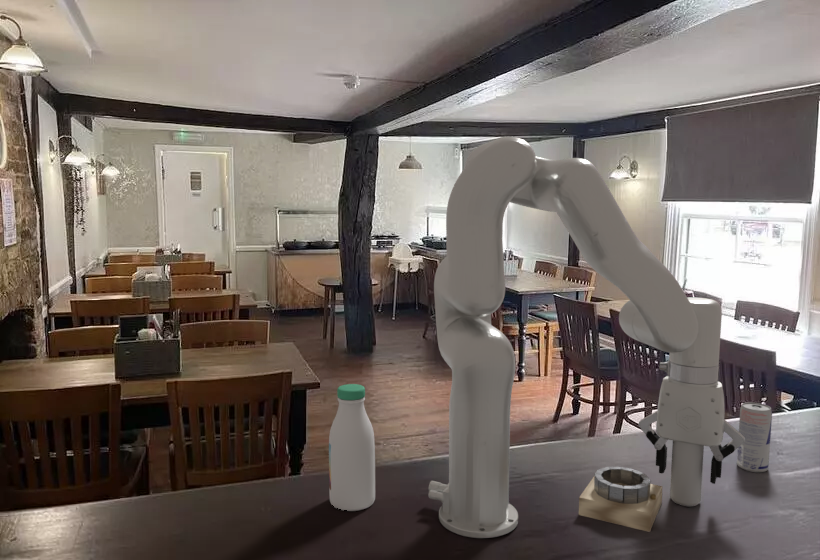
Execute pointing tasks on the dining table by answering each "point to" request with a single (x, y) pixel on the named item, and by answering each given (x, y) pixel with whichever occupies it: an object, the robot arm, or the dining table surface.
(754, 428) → the energy drink
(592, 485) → the mount block
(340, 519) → the dining table surface
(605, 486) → the mount ring
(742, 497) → the dining table surface
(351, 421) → the milk bottle
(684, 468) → the beverage can
